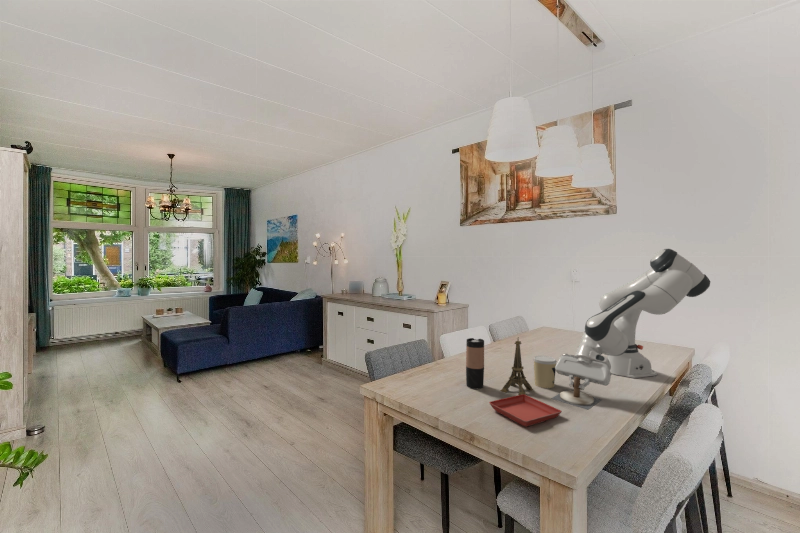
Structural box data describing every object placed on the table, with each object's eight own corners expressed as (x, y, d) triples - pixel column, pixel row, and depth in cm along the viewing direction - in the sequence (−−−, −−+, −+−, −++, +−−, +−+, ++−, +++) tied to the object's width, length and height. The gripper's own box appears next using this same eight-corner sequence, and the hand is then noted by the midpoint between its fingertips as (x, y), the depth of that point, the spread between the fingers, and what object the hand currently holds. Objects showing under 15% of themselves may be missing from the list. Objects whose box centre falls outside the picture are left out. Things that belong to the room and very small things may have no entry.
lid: (581, 392, 155) (582, 371, 155) (600, 404, 143) (601, 382, 143) (554, 393, 154) (554, 373, 153) (571, 406, 142) (571, 383, 141)
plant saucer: (523, 401, 148) (523, 393, 148) (562, 419, 132) (563, 410, 132) (487, 410, 139) (487, 401, 139) (525, 431, 123) (525, 421, 123)
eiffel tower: (524, 397, 151) (525, 335, 150) (499, 391, 158) (500, 331, 157) (534, 390, 159) (535, 331, 158) (510, 384, 166) (511, 327, 165)
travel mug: (473, 390, 158) (473, 343, 157) (462, 384, 165) (462, 339, 164) (487, 387, 162) (488, 341, 161) (476, 381, 169) (476, 337, 168)
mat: (566, 390, 158) (566, 389, 158) (602, 400, 148) (602, 399, 148) (550, 399, 149) (550, 398, 149) (588, 410, 139) (588, 409, 139)
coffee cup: (558, 390, 158) (558, 362, 158) (534, 388, 160) (535, 360, 160) (553, 382, 167) (554, 356, 167) (531, 381, 169) (531, 354, 169)
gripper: (559, 348, 160) (547, 376, 154) (612, 359, 145) (601, 390, 139) (563, 357, 163) (552, 384, 157) (615, 368, 148) (605, 399, 142)
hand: (576, 387), depth 148 cm, fingers open, 2 cm apart
